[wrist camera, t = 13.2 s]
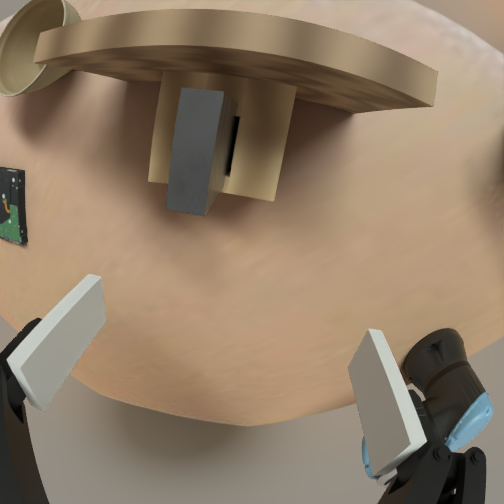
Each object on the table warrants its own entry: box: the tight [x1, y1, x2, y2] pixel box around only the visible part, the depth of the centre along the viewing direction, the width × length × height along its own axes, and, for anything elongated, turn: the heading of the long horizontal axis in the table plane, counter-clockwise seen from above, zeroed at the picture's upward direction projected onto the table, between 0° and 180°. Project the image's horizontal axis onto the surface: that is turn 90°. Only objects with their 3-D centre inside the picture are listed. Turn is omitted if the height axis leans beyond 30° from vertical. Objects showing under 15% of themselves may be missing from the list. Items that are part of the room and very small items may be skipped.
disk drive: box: [0, 167, 28, 245], centre depth 39 cm, size 10×3×15 cm
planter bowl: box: [0, 0, 81, 97], centre depth 24 cm, size 16×16×11 cm
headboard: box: [33, 9, 438, 202], centre depth 26 cm, size 32×16×20 cm, turn 80°
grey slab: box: [166, 88, 239, 216], centre depth 26 cm, size 3×9×16 cm, turn 170°
